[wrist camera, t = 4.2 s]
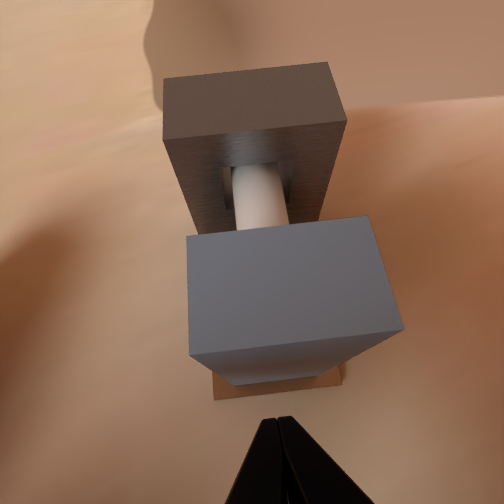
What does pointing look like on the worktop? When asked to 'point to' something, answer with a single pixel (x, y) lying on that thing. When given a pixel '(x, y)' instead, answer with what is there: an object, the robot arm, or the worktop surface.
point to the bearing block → (254, 155)
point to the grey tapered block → (284, 289)
